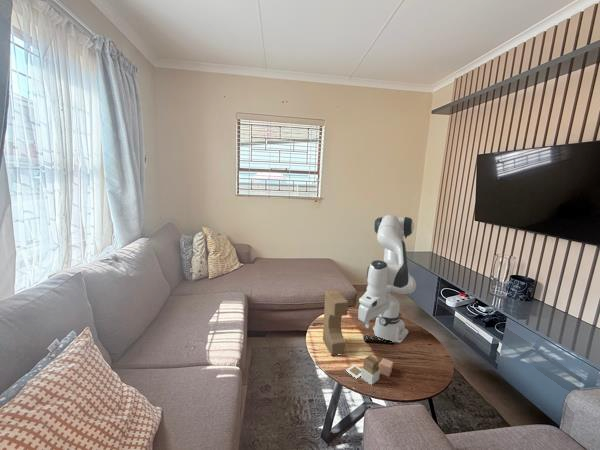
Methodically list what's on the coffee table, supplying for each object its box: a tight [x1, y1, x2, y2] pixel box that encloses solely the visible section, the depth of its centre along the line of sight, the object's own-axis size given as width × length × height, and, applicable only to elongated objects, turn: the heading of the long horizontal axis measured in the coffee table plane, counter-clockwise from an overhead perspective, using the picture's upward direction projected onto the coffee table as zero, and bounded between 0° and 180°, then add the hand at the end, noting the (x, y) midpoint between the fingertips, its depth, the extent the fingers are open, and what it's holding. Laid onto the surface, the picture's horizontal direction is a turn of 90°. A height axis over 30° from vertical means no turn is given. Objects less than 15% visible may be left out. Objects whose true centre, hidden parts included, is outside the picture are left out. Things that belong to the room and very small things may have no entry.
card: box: [345, 364, 362, 380], centre depth 132 cm, size 7×7×1 cm
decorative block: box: [322, 289, 349, 356], centre depth 148 cm, size 15×8×30 cm, turn 14°
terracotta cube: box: [379, 357, 394, 377], centre depth 133 cm, size 5×5×5 cm
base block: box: [360, 367, 381, 386], centre depth 128 cm, size 6×6×5 cm
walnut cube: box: [362, 354, 380, 374], centre depth 127 cm, size 5×5×5 cm
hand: (373, 323), depth 127 cm, fingers open, 8 cm apart
